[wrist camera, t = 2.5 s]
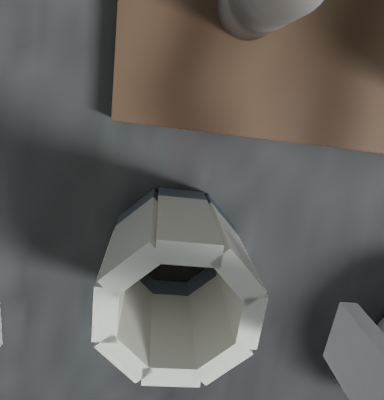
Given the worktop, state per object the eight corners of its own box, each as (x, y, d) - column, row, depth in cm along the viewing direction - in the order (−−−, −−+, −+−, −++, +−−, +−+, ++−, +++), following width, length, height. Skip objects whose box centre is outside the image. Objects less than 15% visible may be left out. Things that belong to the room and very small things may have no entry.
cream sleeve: (240, 195, 20) (279, 250, 13) (222, 298, 22) (247, 389, 15) (119, 183, 19) (96, 234, 12) (112, 291, 21) (89, 384, 15)
